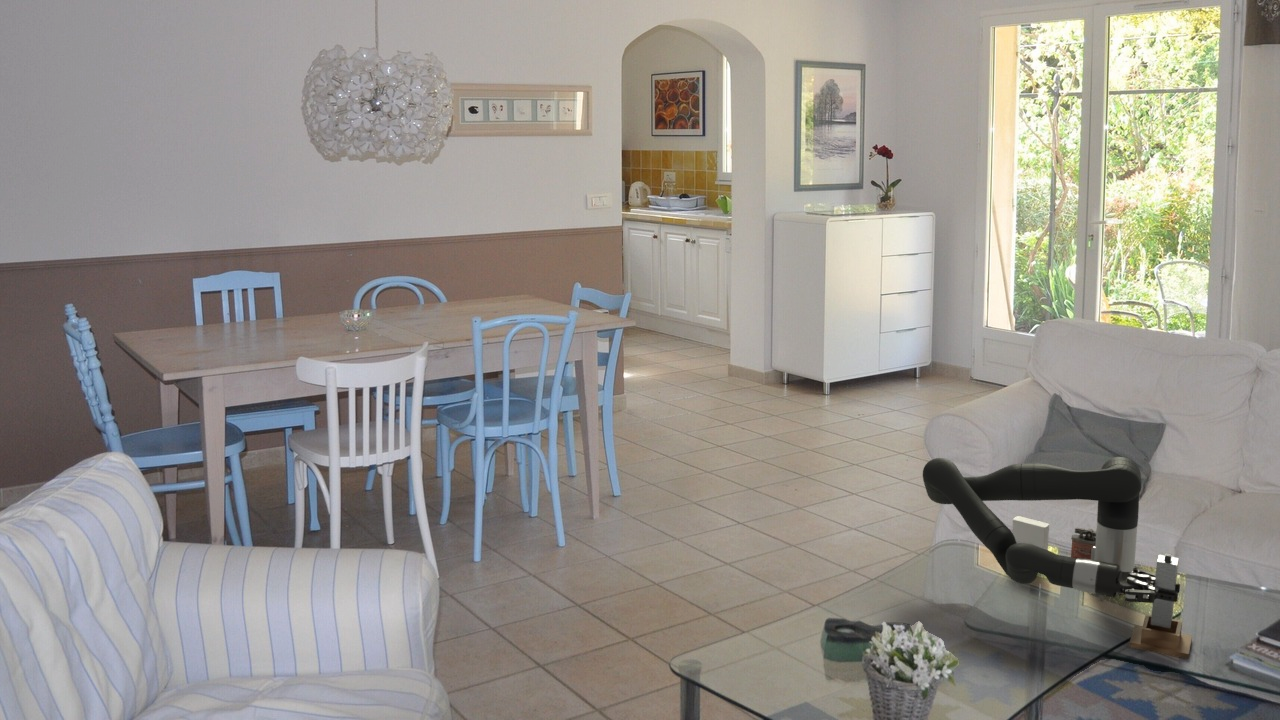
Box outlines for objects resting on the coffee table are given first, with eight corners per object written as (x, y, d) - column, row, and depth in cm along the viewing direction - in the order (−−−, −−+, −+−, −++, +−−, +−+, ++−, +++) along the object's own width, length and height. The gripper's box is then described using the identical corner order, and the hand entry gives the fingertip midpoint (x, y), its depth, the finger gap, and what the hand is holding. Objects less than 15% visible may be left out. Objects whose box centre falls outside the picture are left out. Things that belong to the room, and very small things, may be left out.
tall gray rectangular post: (1150, 624, 251) (1157, 556, 246) (1152, 616, 254) (1159, 549, 250) (1170, 628, 249) (1177, 560, 244) (1172, 620, 252) (1179, 553, 248)
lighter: (1103, 565, 291) (1106, 530, 289) (1101, 570, 289) (1103, 534, 286) (1071, 559, 296) (1073, 524, 293) (1068, 564, 293) (1070, 529, 290)
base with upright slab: (1052, 562, 294) (1055, 520, 291) (1037, 574, 288) (1040, 531, 285) (1019, 553, 300) (1022, 512, 297) (1004, 565, 294) (1006, 522, 291)
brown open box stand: (1129, 646, 252) (1130, 628, 251) (1134, 629, 259) (1135, 610, 258) (1188, 658, 246) (1190, 639, 245) (1191, 640, 254) (1193, 621, 252)
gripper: (1092, 575, 249) (1177, 590, 241) (1102, 550, 261) (1183, 564, 253) (1089, 605, 251) (1173, 622, 243) (1099, 579, 263) (1180, 594, 255)
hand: (1178, 592), depth 248 cm, fingers closed on tall gray rectangular post, 4 cm apart
